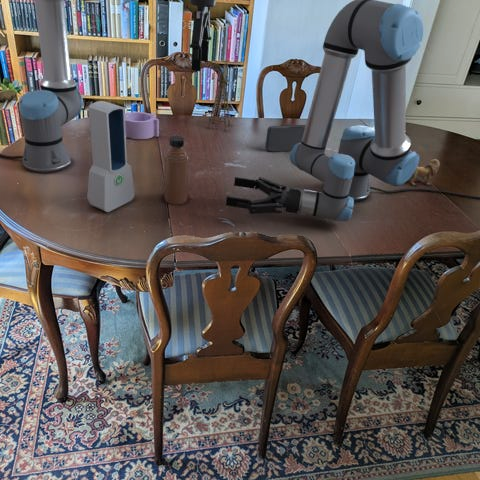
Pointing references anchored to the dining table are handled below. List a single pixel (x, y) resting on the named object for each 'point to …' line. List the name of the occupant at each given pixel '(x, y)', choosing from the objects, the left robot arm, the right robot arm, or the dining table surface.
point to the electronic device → (109, 158)
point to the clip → (141, 125)
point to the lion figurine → (426, 171)
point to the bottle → (175, 175)
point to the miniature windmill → (222, 80)
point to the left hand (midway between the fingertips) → (199, 65)
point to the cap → (176, 141)
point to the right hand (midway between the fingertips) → (230, 190)
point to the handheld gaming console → (284, 137)
